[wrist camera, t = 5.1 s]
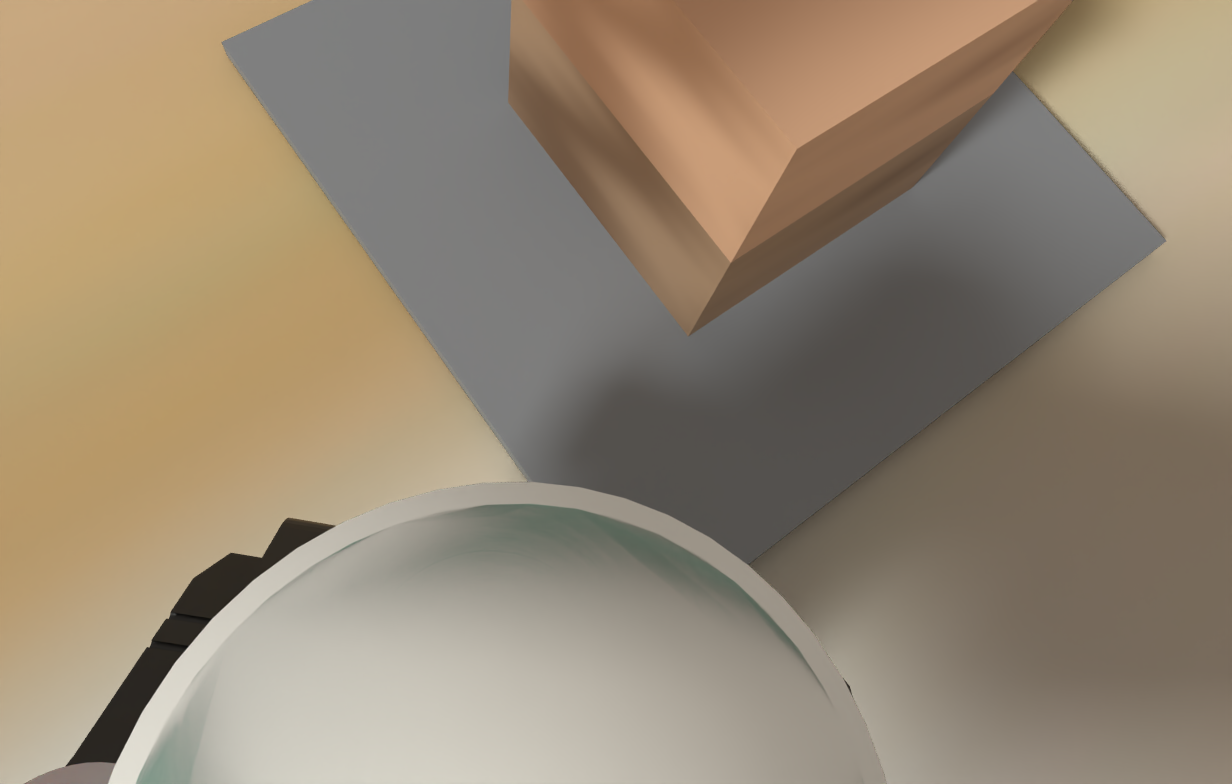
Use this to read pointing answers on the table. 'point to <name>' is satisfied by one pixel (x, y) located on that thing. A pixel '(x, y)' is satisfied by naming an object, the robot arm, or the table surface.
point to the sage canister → (504, 659)
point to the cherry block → (786, 89)
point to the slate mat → (630, 310)
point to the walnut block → (648, 206)
